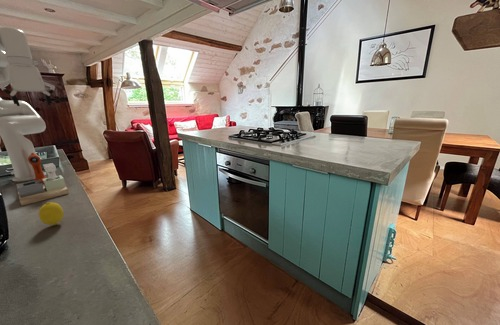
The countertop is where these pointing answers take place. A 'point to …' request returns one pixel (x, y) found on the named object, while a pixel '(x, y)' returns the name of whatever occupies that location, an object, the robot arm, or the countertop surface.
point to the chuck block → (30, 188)
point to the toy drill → (36, 166)
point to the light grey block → (50, 171)
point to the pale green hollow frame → (54, 183)
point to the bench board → (43, 195)
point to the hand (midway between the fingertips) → (34, 105)
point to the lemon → (51, 213)
